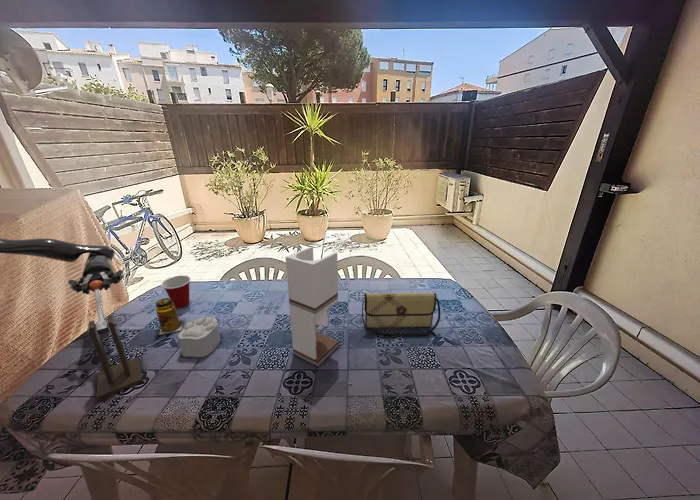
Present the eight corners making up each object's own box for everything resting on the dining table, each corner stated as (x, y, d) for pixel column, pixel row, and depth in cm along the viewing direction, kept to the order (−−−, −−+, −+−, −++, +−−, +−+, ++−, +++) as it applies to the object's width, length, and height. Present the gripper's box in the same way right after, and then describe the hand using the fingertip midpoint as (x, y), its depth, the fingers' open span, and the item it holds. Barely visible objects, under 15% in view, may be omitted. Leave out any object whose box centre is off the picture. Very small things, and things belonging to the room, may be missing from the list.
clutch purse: (361, 336, 100) (362, 301, 95) (360, 325, 106) (361, 291, 102) (441, 335, 101) (446, 300, 96) (435, 324, 107) (439, 290, 102)
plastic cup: (162, 312, 114) (156, 287, 110) (173, 300, 124) (167, 276, 120) (190, 310, 116) (185, 285, 112) (198, 297, 126) (193, 274, 122)
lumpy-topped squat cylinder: (177, 356, 90) (171, 334, 87) (200, 332, 102) (196, 312, 99) (207, 357, 89) (203, 335, 86) (227, 333, 102) (223, 313, 99)
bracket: (99, 374, 82) (77, 318, 76) (139, 359, 88) (123, 306, 82) (97, 400, 74) (73, 340, 67) (143, 381, 80) (124, 324, 73)
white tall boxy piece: (317, 366, 86) (313, 264, 74) (293, 353, 91) (285, 256, 80) (338, 346, 95) (337, 252, 83) (315, 335, 100) (310, 246, 89)
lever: (89, 287, 84) (86, 279, 82) (105, 283, 86) (102, 276, 84) (96, 337, 74) (92, 330, 72) (113, 332, 77) (110, 325, 74)
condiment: (158, 335, 100) (150, 307, 96) (163, 323, 108) (155, 296, 104) (181, 330, 103) (174, 303, 99) (184, 318, 110) (178, 292, 106)
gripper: (66, 266, 88) (58, 284, 76) (121, 256, 97) (122, 271, 84) (73, 287, 91) (67, 308, 78) (127, 276, 99) (129, 293, 87)
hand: (96, 289), depth 81 cm, fingers closed on lever, 3 cm apart
